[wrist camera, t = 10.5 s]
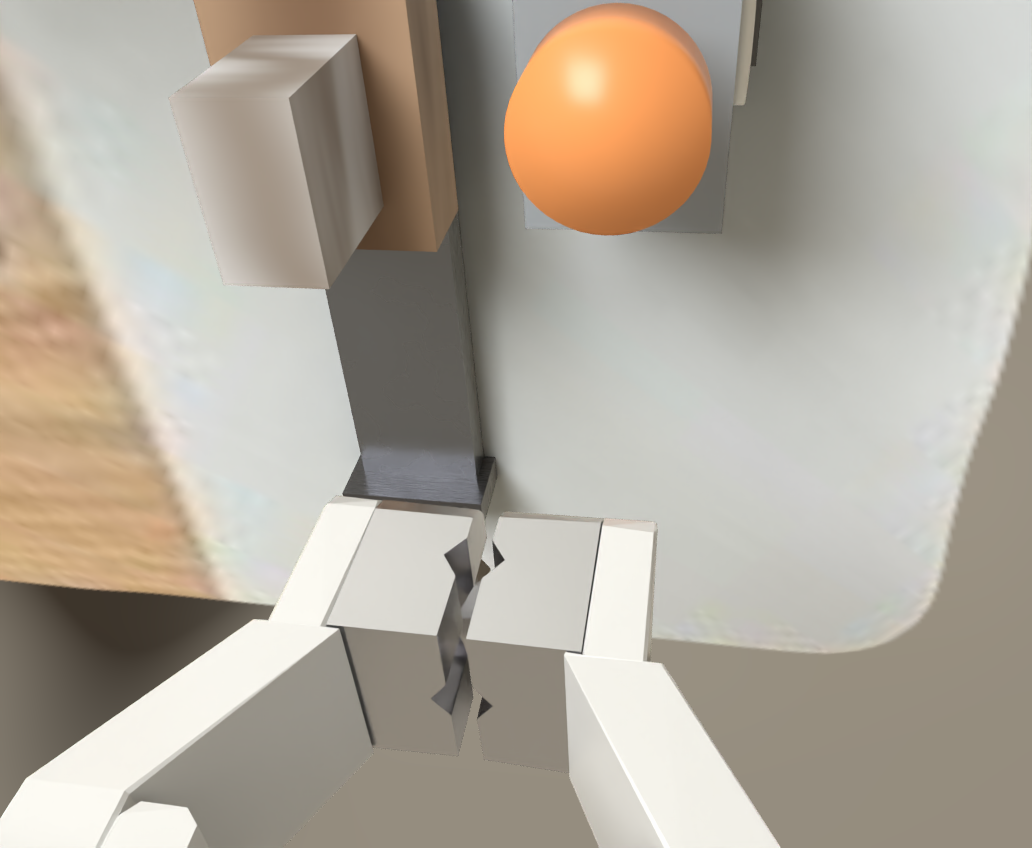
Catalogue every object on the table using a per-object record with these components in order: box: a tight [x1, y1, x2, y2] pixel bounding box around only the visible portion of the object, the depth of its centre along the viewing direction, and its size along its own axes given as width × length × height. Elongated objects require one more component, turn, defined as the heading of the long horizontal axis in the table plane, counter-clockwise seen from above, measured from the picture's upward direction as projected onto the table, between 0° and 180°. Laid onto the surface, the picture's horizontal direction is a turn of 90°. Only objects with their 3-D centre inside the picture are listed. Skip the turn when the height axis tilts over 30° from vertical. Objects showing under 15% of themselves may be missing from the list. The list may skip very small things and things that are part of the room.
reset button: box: [504, 3, 712, 235], centre depth 18 cm, size 4×4×2 cm
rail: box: [325, 211, 497, 521], centre depth 32 cm, size 6×24×3 cm, turn 3°
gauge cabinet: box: [512, 0, 762, 234], centre depth 24 cm, size 6×8×8 cm
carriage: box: [169, 0, 458, 289], centre depth 26 cm, size 6×8×8 cm
